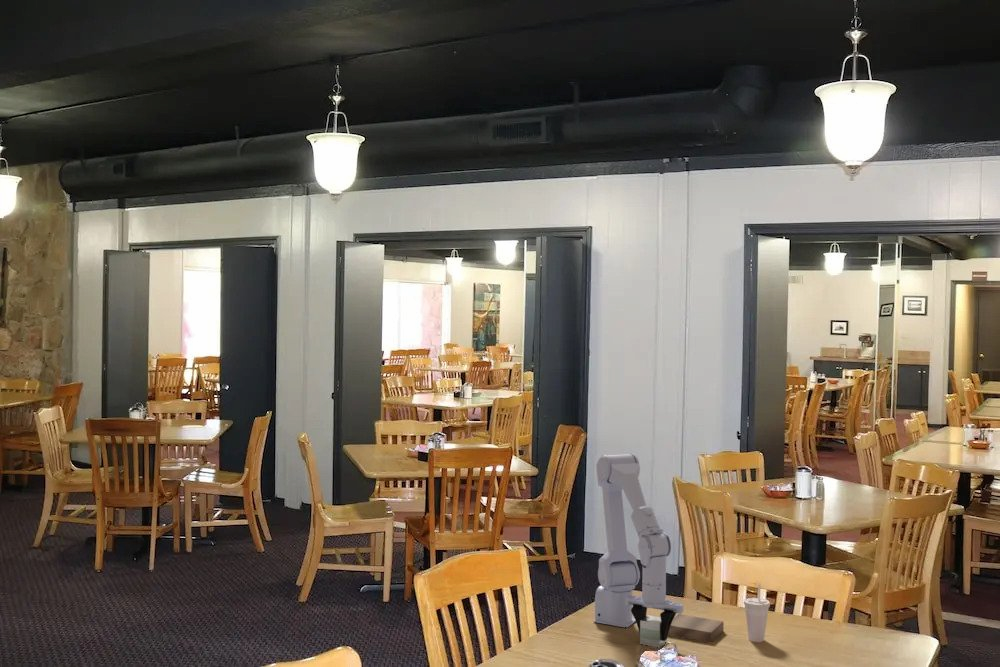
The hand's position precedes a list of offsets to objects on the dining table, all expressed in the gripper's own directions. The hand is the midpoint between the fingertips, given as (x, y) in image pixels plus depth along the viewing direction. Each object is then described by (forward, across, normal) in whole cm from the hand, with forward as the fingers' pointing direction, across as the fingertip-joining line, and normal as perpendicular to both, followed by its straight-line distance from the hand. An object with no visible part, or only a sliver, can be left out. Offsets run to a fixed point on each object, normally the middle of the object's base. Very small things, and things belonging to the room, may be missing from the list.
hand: (653, 637), depth 239 cm
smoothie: (+2, +21, +16) cm, 26 cm away
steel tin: (+1, 0, 0) cm, 1 cm away
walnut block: (+2, +6, +13) cm, 14 cm away
